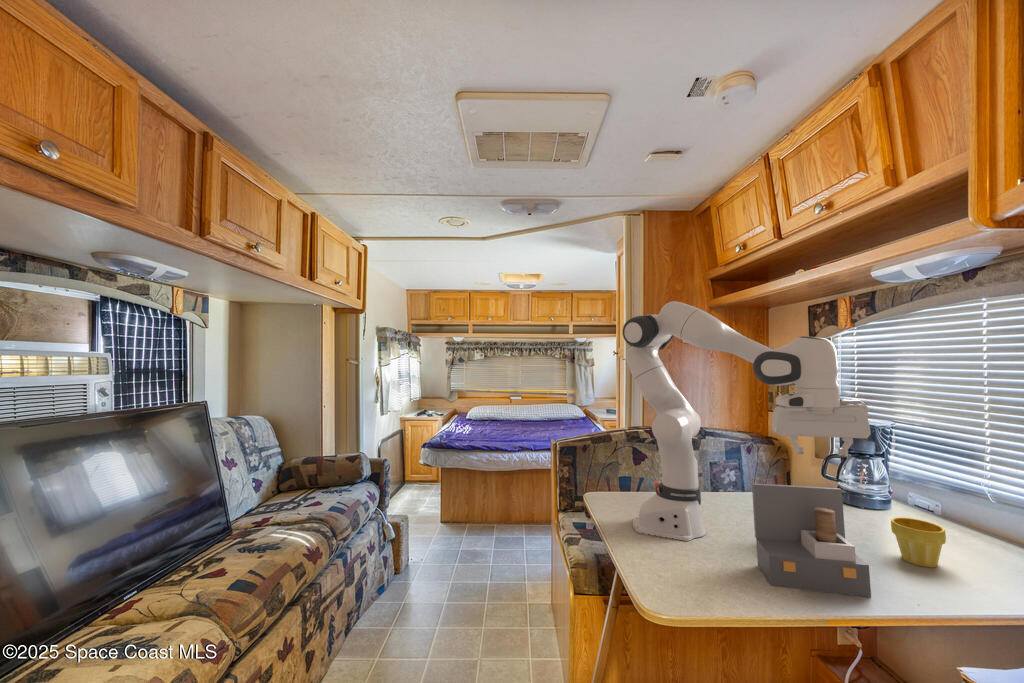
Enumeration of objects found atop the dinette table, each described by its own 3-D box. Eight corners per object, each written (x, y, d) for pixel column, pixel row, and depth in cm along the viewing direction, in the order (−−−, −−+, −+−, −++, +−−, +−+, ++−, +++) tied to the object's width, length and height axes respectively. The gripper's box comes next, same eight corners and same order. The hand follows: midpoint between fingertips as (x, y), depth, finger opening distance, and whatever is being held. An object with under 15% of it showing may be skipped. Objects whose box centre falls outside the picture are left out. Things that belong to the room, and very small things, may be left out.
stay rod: (813, 548, 100) (811, 507, 101) (832, 549, 99) (829, 508, 100) (821, 555, 96) (818, 512, 97) (840, 557, 95) (838, 513, 96)
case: (771, 586, 96) (766, 496, 97) (756, 563, 107) (751, 483, 109) (872, 598, 90) (865, 503, 92) (845, 572, 102) (839, 488, 103)
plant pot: (960, 573, 101) (956, 533, 101) (909, 568, 103) (906, 529, 104) (930, 555, 111) (926, 518, 111) (884, 551, 113) (881, 515, 114)
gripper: (860, 399, 102) (863, 454, 101) (768, 398, 108) (771, 450, 107) (874, 401, 96) (878, 459, 95) (776, 399, 102) (779, 455, 101)
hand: (820, 454), depth 101 cm, fingers open, 8 cm apart
